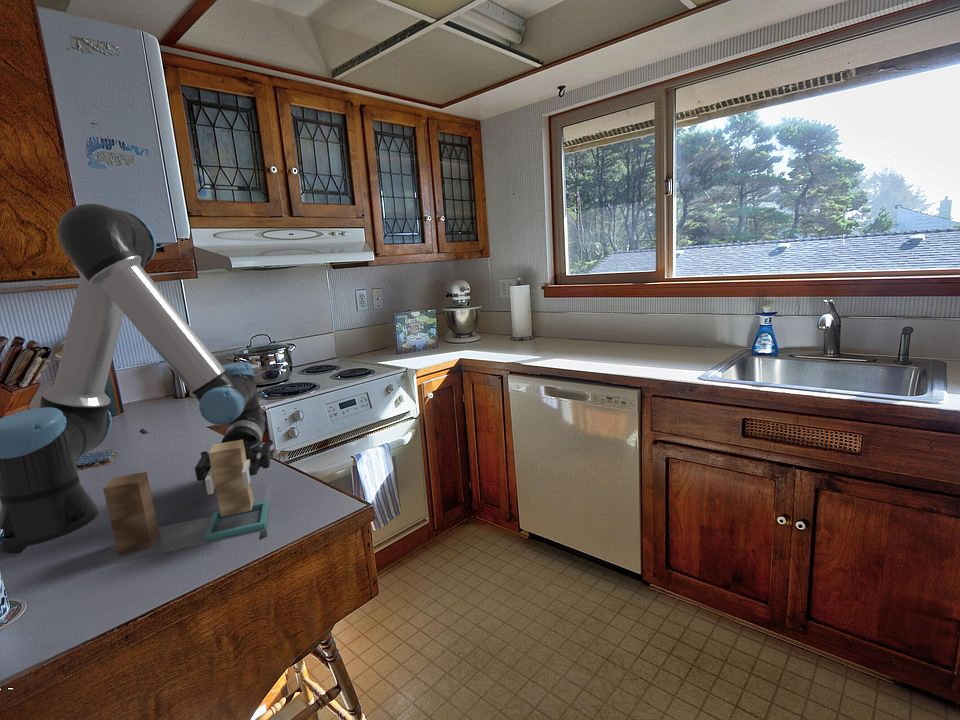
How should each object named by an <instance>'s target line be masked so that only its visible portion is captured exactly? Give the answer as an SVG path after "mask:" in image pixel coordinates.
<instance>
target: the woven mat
mask: <svg viewBox="0 0 960 720" xmlns="http://www.w3.org/2000/svg"><path fill="white" fill-rule="evenodd" d="M116 453H117V454H118V453H119V451H117V450H116V449H115V448H113V449H112V448H109V449H108V450H103V451H96V452H88V453H86V454H84V455H83V456H81V457H80V458H78V459H77V460H75V464H76V468H77V471H79V470H85V469H90V468H94V466H95V467H99V465H100V466H105V465H104V464H106V465H109V464H108V463H109V462H110V464H112V462H114V459H115V456H117V455H116ZM112 459H113V460H112ZM89 466H90V468H89ZM84 467H85V468H84Z"/></svg>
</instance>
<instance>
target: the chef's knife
mask: <svg viewBox="0 0 960 720" xmlns="http://www.w3.org/2000/svg"><path fill="white" fill-rule="evenodd" d="M141 431H143V432H144V433H145V434H144V433H143V432H142V433H143V435H148V434H150V435H152V434H151V433H150V432H149V431H147V430H146V429H145V428H141V429H140V430H139V432H141Z"/></svg>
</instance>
